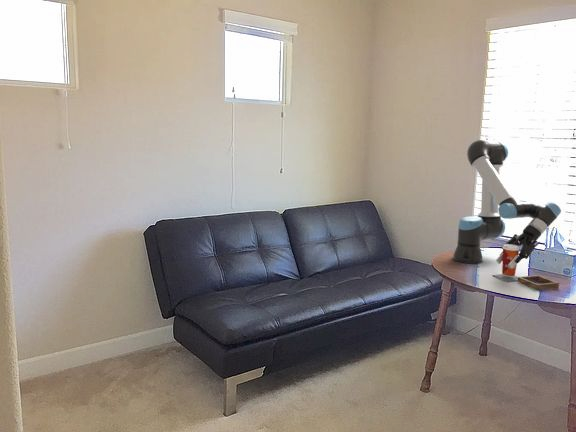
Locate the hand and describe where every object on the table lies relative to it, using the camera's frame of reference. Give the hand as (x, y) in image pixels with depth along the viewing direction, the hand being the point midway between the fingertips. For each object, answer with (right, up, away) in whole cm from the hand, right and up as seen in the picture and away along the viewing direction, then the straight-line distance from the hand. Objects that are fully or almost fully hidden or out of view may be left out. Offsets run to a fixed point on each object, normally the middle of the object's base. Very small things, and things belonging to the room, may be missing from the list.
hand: (503, 264), depth 233 cm
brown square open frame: (+12, -9, -7) cm, 17 cm away
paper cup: (+3, -5, +2) cm, 6 cm away
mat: (+3, -7, +2) cm, 8 cm away
